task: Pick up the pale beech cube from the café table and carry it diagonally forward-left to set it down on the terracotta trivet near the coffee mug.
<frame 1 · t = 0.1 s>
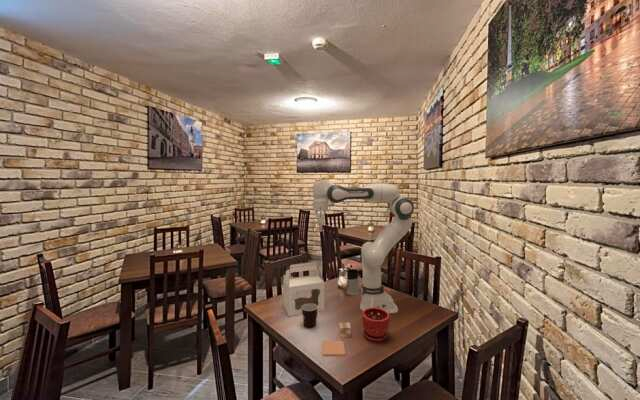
hand: (320, 230, 168), 48 cm above the table, fingers open, 8 cm apart
plant pot: (375, 336, 141), on the table
beech cube: (344, 334, 143), on the table
gable box: (303, 309, 171), on the table
trivet: (333, 349, 131), on the table
coffee mug: (309, 327, 150), on the table
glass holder: (348, 292, 196), on the table
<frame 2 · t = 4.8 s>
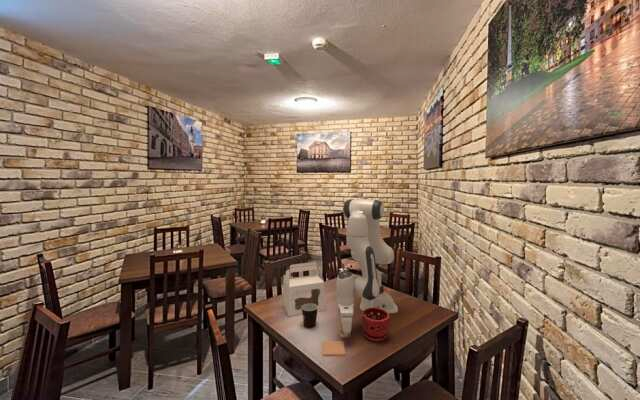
hand: (344, 331, 142), 2 cm above the table, fingers closed on beech cube, 5 cm apart
beech cube: (344, 334, 143), on the table, touching gripper
everything else where it was.
when the fingers open (4 cm above the table, at t = 10.2 s): beech cube drops 1 cm, resting on trivet.
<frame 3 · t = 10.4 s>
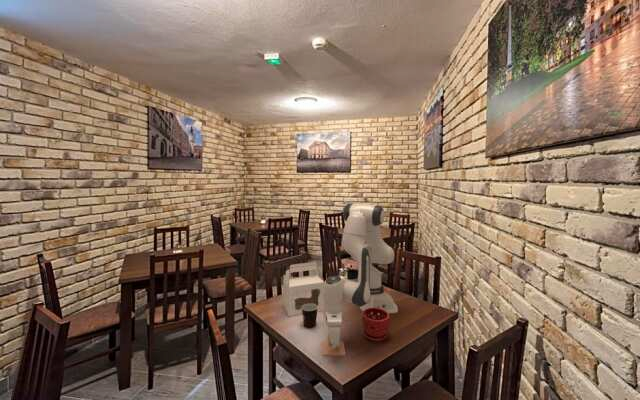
hand: (333, 341, 130), 4 cm above the table, fingers open, 7 cm apart
beech cube: (333, 347, 131), point 1 cm above the table, touching trivet
everything else where it was.
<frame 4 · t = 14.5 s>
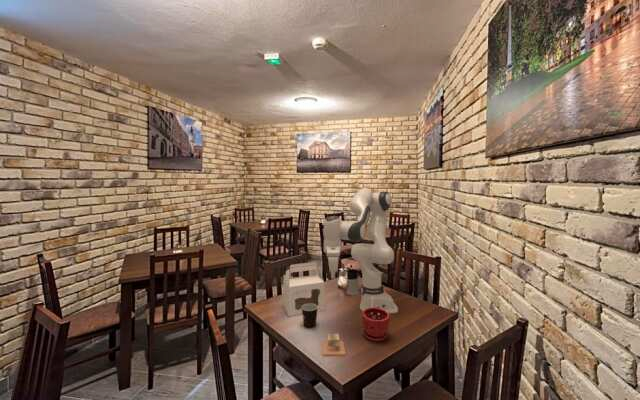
hand: (332, 274, 145), 29 cm above the table, fingers open, 8 cm apart
nothing on the table moved.
at the end: beech cube inside the target area on the trivet (0.1 cm from its centre), point 0.8 cm above the trivet's base; beech cube tilted 0°; the gripper is holding nothing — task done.
